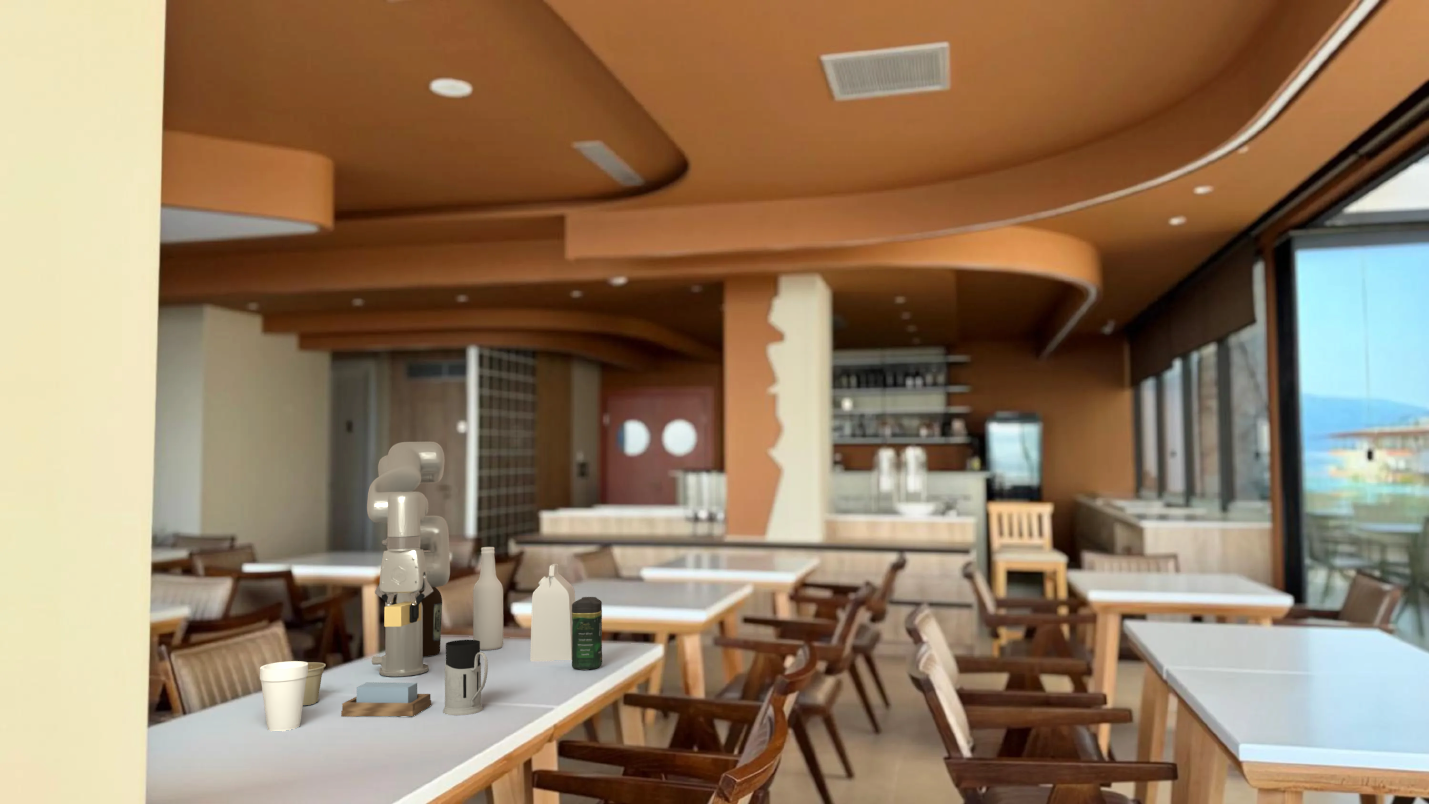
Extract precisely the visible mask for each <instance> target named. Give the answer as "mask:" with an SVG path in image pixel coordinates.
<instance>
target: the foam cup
mask: <svg viewBox="0 0 1429 804" xmlns="http://www.w3.org/2000/svg"><path fill="white" fill-rule="evenodd" d="M308 663H309V662H307V661H300V660H299V661H298V660H293V661H291V660H289V661H278V662H271V663H266V664H264V665H261V666H260V668H259V681H260V682H261V690H262V697H263V705H264V714H265V719H266V728H267V731H268V730H270V731H269V732H272V731H282V732H287V731H286V730H289V731H292V730H291V729H293V730H296V729H295V728H297V727H299V726H301V722H302V714H303V707H304V706H303V699H304V692H305V685H306V677H307V676H308ZM299 728H300V727H299ZM297 729H298V728H297Z"/></svg>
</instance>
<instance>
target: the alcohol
mask: <svg viewBox="0 0 1429 804" xmlns="http://www.w3.org/2000/svg"><path fill="white" fill-rule="evenodd" d="M495 549H496V548H495V547H494V546H484V547H481V548H480V550H481V552H480V554H481V557H480V559H481V560H480V572H479V577H478V580H477V581H476V582H475V584H474V585H473V589H472V622H473V623H472V626H473V627H472V629H473V631H472V637H473V638H472V640H478V641H480V651H494V650H500V649H502V647H503V646H504V587H503V584H502V583H501V581H500V580H499V579H498V576H497V571H496V559H495V553H496V552H495Z"/></svg>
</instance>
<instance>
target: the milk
mask: <svg viewBox="0 0 1429 804" xmlns="http://www.w3.org/2000/svg"><path fill="white" fill-rule="evenodd" d="M548 569H549V570H548V576H545V575H544V576H543V577H542V578H541V579H540V580H539V581H538V583H537V584H538V585H539V586H538V587H536V589H535V590H534V591H533V592H532V597H531V621H530V622H531V624H530V627H531V628H530V654H529V657H530V659H529V660H530V661H529V662H555V661H554V660H572V604H573V603H574V602H575V601H576V594H575V592H576V591H575V588H574V587H573V585H572V584H571V583H570V582H569V581H568V580H567V579H565V577H564V576H562V574H560V573H559V563H552V564H550V565H549V568H548Z"/></svg>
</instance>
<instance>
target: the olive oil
mask: <svg viewBox="0 0 1429 804" xmlns="http://www.w3.org/2000/svg"><path fill="white" fill-rule="evenodd" d="M432 589H433V592H432V593H431V594H429V595H428V596H426V597H425V598H424V599H423V601H422V602H421V603H422V606H423V658H425V657H427V658H428V657H432V656H437V655H439V654H441V642H442V641H441V636H442V632H441V631H442V614H443V597H442V594H441V592H440V590H439V589H438V587H432ZM422 592H424V590H422V591H419V593H420V594H421V593H422Z"/></svg>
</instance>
